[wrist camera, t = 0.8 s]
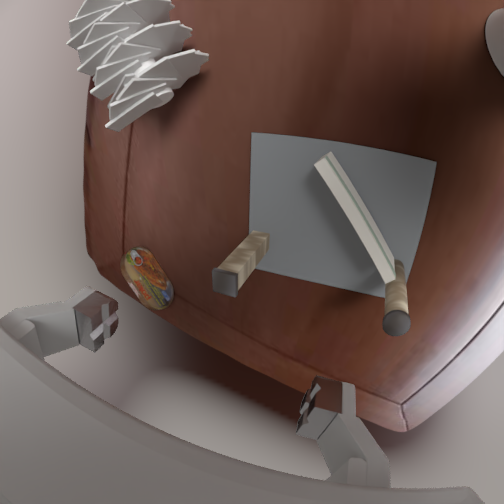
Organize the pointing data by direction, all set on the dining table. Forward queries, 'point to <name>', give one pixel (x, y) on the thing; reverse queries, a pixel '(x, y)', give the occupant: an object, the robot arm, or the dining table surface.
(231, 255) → the gate posts
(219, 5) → the dining table surface
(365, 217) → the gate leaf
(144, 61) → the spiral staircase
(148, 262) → the tin
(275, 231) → the mat
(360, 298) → the dining table surface
